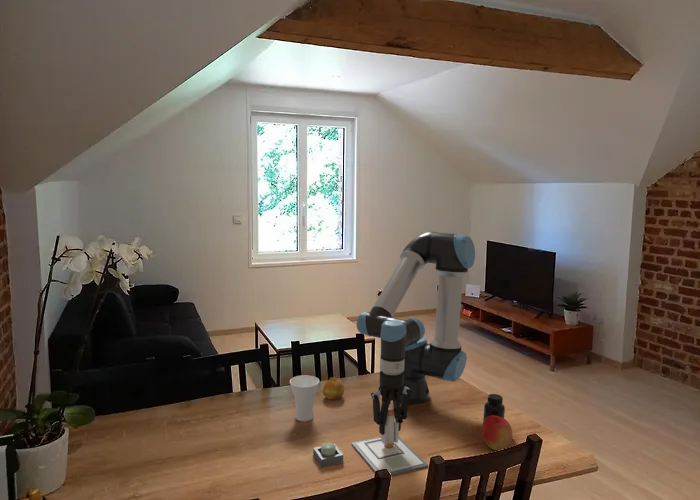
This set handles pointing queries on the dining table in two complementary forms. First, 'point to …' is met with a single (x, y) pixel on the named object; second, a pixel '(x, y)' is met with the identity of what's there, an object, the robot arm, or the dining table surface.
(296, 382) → the cup
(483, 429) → the apple
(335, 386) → the fruit
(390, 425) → the marker
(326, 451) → the button
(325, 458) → the button housing
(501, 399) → the supplement bottle
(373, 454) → the grey rectangular board
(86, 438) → the dining table surface
